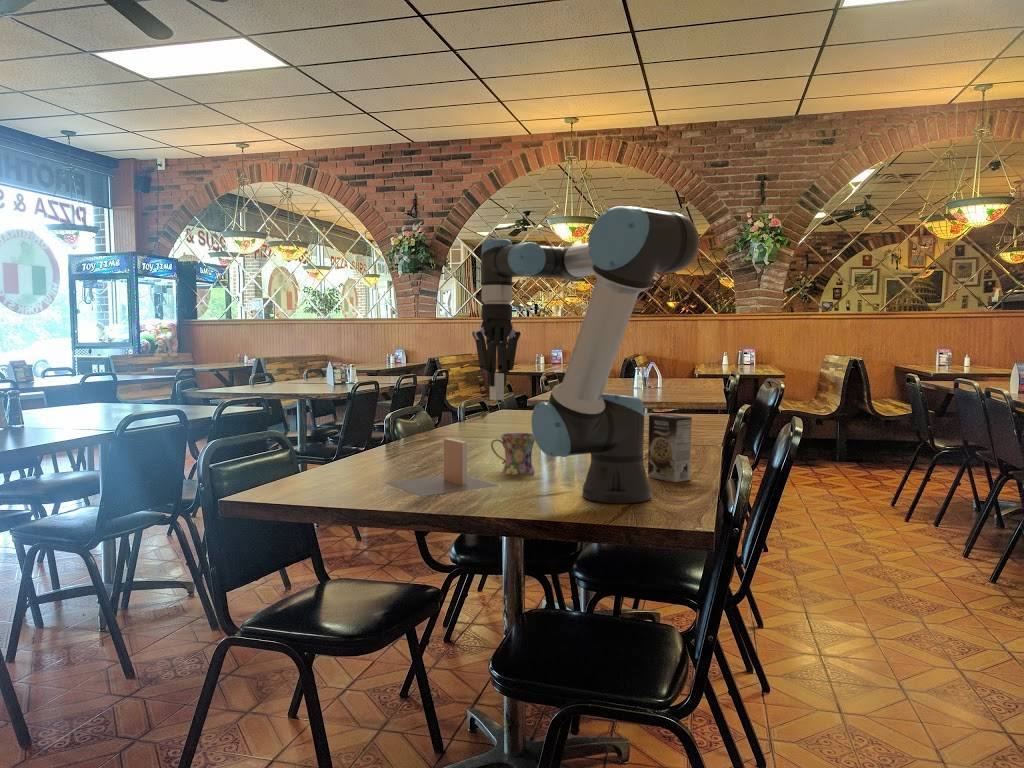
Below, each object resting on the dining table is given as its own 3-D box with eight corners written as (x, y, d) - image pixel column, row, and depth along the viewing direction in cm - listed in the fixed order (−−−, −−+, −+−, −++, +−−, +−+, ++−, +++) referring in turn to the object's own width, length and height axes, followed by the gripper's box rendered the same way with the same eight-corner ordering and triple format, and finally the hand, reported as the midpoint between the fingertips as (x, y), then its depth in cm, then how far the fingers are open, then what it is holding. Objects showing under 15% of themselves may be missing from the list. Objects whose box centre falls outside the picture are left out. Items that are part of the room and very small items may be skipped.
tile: (467, 484, 172) (467, 442, 171) (461, 485, 171) (461, 442, 170) (449, 479, 178) (449, 438, 178) (443, 479, 177) (443, 438, 177)
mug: (540, 473, 193) (540, 433, 192) (531, 480, 184) (531, 438, 183) (496, 471, 196) (496, 431, 195) (485, 477, 187) (485, 436, 186)
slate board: (497, 490, 171) (497, 485, 171) (421, 501, 159) (421, 496, 159) (457, 478, 186) (457, 473, 185) (385, 487, 174) (385, 482, 174)
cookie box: (646, 477, 188) (647, 414, 187) (663, 474, 192) (664, 413, 191) (674, 482, 181) (675, 417, 180) (691, 479, 184) (692, 416, 183)
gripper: (511, 304, 186) (510, 397, 188) (464, 303, 178) (464, 399, 179) (528, 303, 180) (528, 399, 182) (481, 302, 172) (481, 402, 173)
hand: (496, 399), depth 180 cm, fingers closed
